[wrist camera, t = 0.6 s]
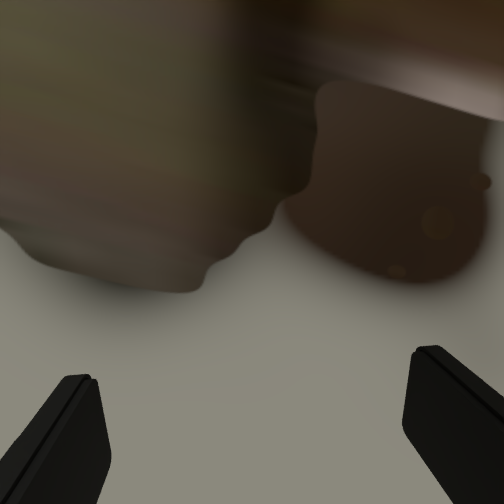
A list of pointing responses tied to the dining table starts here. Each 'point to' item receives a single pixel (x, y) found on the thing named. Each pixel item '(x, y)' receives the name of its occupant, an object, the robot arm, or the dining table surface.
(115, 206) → the dining table surface
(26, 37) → the dining table surface
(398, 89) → the dining table surface
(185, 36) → the dining table surface
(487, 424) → the robot arm
